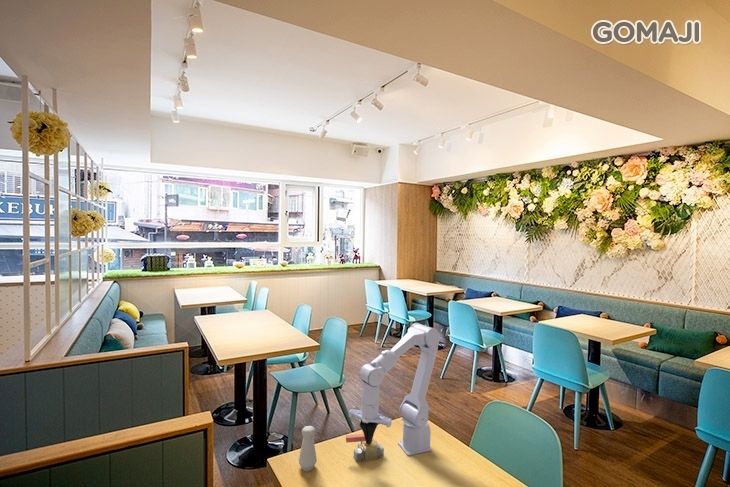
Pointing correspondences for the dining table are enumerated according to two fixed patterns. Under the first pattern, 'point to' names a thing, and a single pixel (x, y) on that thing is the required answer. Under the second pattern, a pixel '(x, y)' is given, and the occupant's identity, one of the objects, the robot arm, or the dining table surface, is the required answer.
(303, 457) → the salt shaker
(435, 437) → the dining table surface
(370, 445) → the valve base
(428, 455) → the dining table surface
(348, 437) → the lever
